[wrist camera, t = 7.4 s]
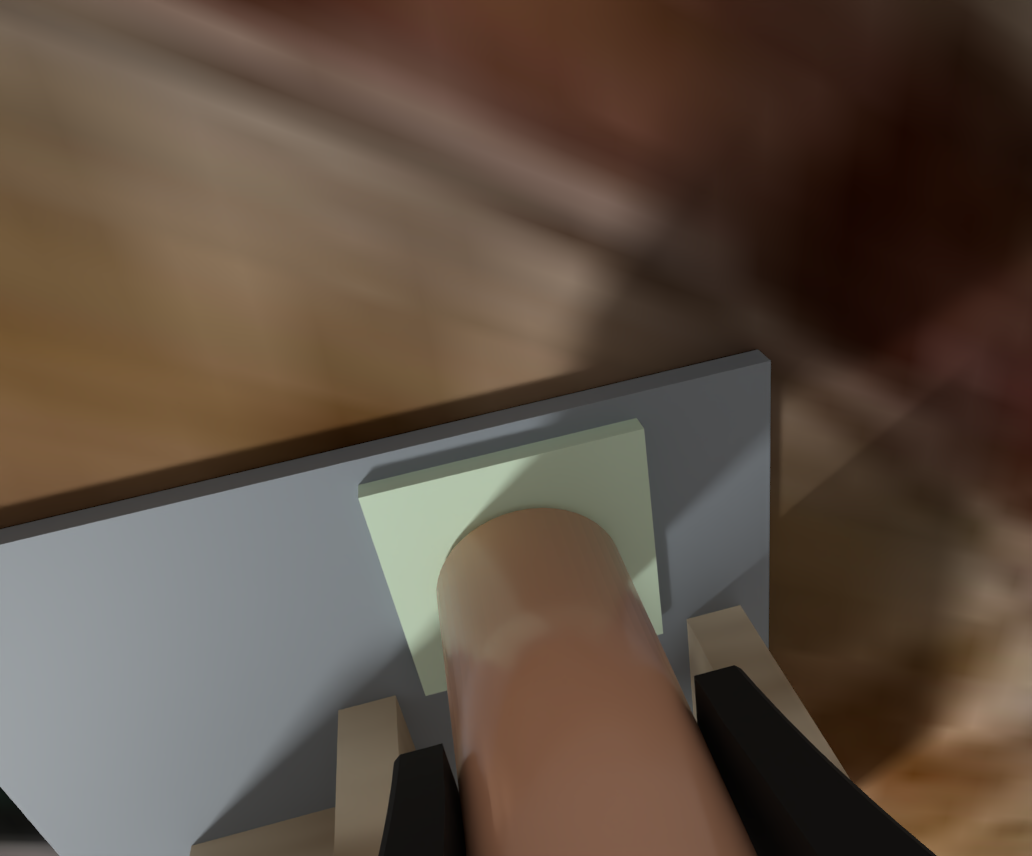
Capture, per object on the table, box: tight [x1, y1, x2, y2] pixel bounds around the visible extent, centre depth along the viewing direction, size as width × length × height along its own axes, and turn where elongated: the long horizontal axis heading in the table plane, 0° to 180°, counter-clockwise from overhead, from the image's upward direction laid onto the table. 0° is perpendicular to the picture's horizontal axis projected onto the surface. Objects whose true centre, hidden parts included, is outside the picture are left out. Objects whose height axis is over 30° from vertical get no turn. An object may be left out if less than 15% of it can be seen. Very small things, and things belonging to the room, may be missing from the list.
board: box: [0, 350, 771, 856], centre depth 17 cm, size 18×16×1 cm
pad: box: [358, 418, 663, 696], centre depth 14 cm, size 5×5×1 cm
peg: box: [436, 508, 757, 856], centre depth 11 cm, size 4×4×8 cm
